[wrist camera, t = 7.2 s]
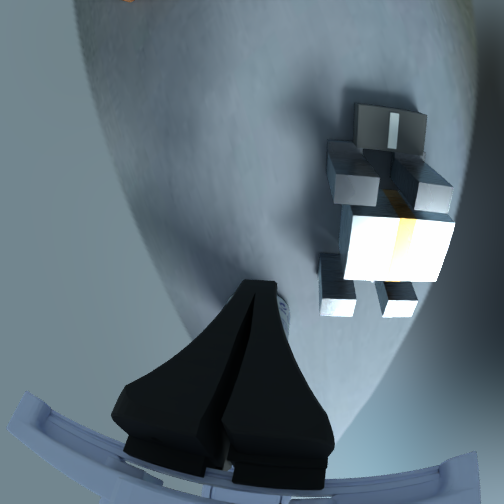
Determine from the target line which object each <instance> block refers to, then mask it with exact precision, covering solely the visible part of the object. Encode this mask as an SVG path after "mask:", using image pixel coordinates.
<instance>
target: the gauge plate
mask: <svg viewBox="0 0 504 504" xmlns="http://www.w3.org/2000/svg"><path fill="white" fill-rule="evenodd" d="M426 123H427V115H425V114H422V113H419V112H414V111H409V110H403V109H397V108H391V107H385V106H378V105H370V104H361V103H355V106H354V133H353V142H354V143H355V144H354V145H355V146H356V147H357V148H364V149H374V150H383V151H391V152H398V153H406V154H412V155H419V156H423V150H424V142H425V133H426Z"/></svg>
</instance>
